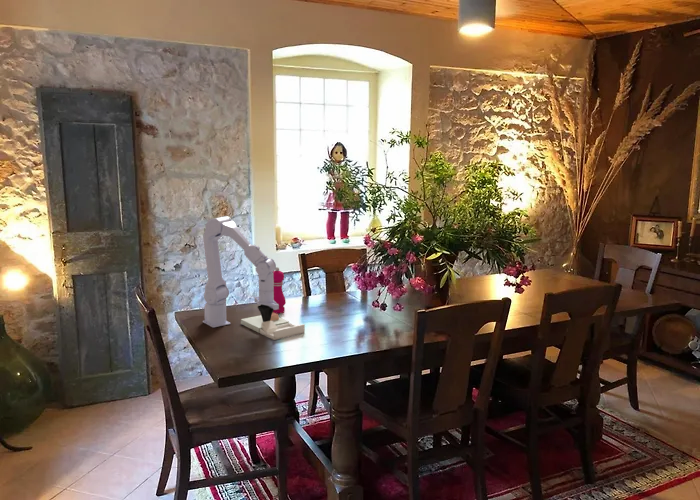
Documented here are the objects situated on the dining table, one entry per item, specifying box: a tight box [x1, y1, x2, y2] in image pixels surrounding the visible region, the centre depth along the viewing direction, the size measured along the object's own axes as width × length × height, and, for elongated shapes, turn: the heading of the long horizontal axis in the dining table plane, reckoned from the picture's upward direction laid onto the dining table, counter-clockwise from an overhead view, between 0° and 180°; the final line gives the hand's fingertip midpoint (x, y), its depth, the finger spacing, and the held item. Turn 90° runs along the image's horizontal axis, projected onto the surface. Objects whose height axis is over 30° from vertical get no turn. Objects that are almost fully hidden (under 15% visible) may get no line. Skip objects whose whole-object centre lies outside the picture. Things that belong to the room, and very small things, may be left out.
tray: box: [259, 322, 306, 341], centre depth 219 cm, size 10×14×4 cm
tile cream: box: [261, 321, 277, 333], centre depth 220 cm, size 4×4×2 cm
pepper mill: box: [273, 266, 287, 314], centre depth 246 cm, size 7×7×20 cm
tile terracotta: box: [270, 312, 280, 321], centre depth 230 cm, size 4×4×2 cm
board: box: [240, 314, 290, 334], centre depth 229 cm, size 14×14×2 cm
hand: (266, 323), depth 222 cm, fingers closed
